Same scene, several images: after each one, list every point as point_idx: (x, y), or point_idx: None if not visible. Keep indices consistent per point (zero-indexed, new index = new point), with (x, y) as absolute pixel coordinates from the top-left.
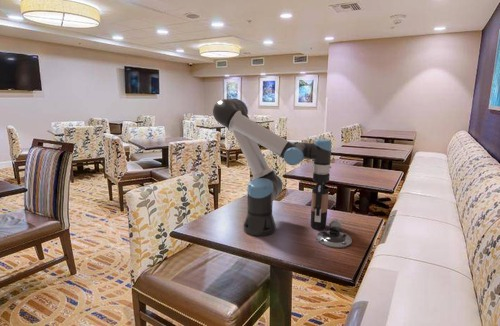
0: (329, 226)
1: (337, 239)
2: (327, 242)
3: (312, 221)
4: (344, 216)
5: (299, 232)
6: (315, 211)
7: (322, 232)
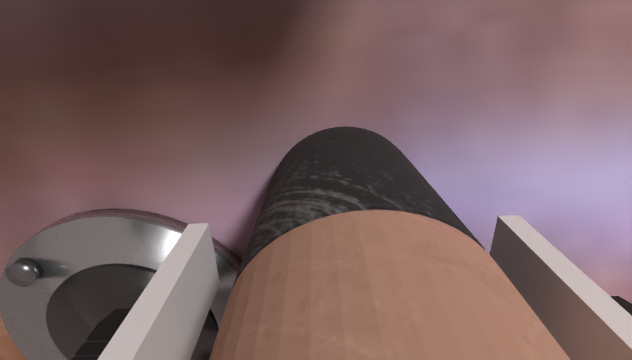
0: None
1: None
2: (26, 301)
3: (280, 175)
4: None
5: (125, 38)
6: (115, 344)
7: None
